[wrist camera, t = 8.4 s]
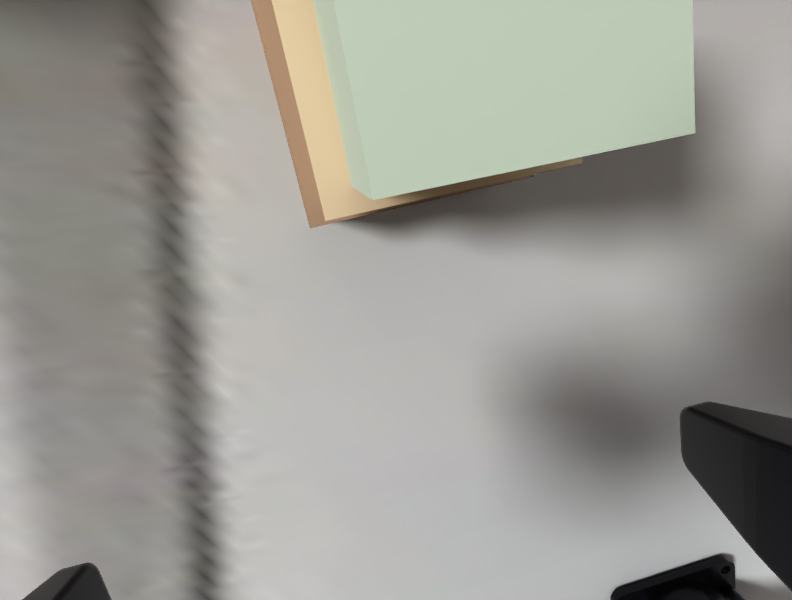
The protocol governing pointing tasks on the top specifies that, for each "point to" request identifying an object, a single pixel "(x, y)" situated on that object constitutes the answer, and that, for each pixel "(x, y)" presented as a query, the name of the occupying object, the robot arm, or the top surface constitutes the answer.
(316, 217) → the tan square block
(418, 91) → the sage block
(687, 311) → the top surface
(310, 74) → the oak block
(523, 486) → the top surface
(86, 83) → the top surface
